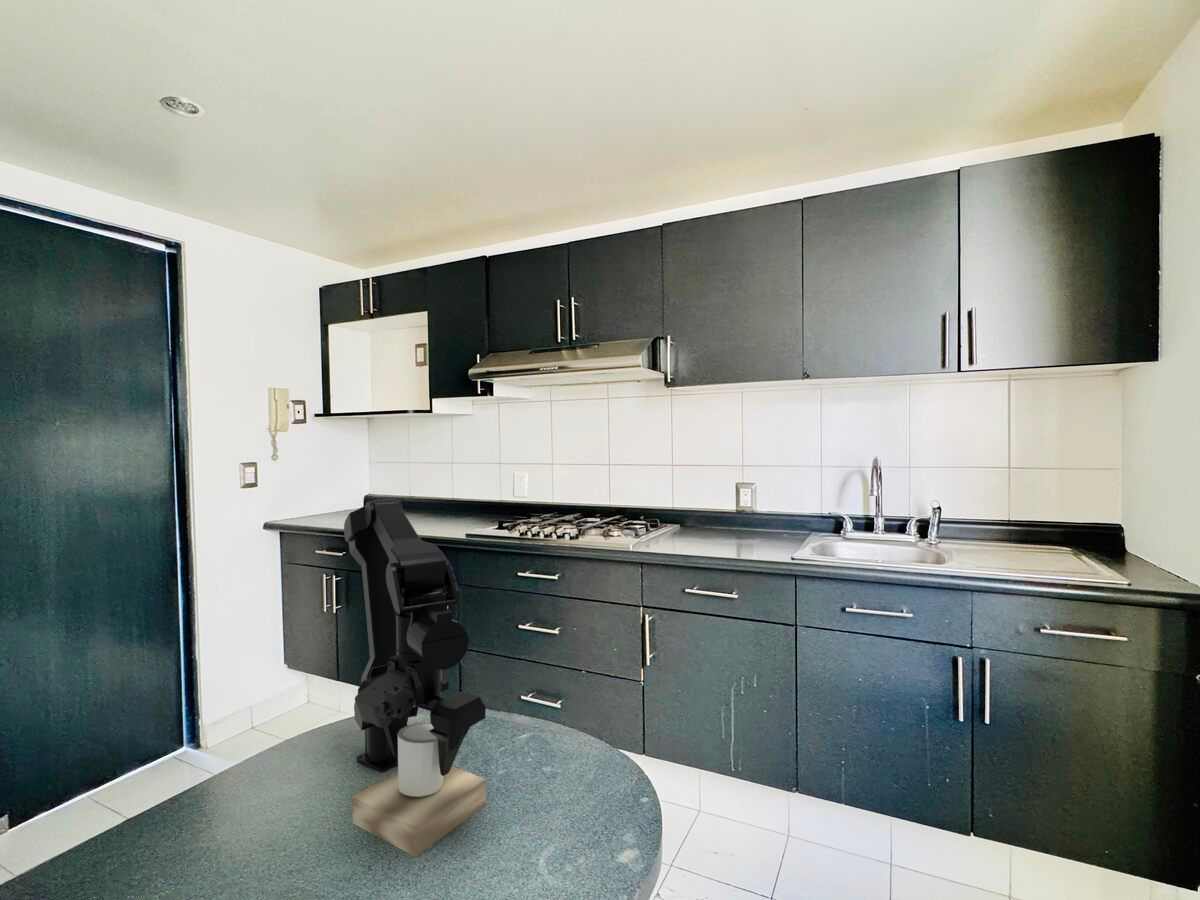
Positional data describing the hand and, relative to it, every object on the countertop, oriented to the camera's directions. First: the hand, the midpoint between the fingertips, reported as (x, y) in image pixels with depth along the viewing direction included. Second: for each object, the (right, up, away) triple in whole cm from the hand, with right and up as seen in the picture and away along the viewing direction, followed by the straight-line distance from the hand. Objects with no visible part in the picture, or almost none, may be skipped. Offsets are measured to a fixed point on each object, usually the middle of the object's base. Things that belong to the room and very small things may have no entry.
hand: (420, 764), depth 78 cm
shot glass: (0, -3, 0) cm, 3 cm away
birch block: (0, -7, 0) cm, 7 cm away
